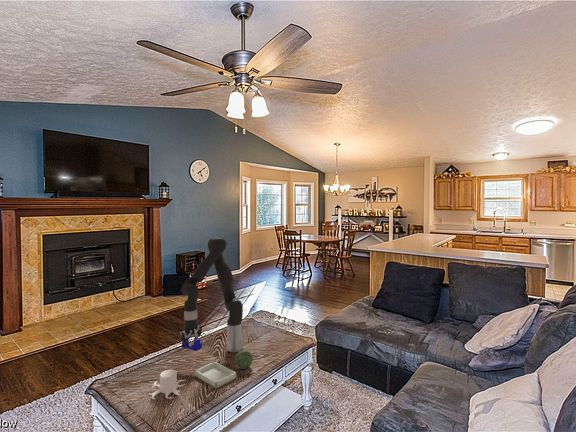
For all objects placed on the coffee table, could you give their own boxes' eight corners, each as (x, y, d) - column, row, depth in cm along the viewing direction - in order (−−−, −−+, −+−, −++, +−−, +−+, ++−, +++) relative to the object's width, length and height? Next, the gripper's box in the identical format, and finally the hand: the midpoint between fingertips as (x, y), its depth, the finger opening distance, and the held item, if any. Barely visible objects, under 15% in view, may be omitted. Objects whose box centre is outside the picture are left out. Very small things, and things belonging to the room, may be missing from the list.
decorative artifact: (251, 365, 187) (251, 348, 186) (254, 370, 180) (254, 353, 180) (234, 368, 183) (234, 351, 183) (237, 374, 176) (237, 356, 176)
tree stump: (194, 380, 171) (194, 365, 171) (176, 401, 152) (176, 385, 152) (160, 377, 174) (160, 362, 174) (138, 397, 155) (138, 381, 155)
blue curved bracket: (202, 347, 185) (201, 337, 184) (196, 351, 181) (196, 340, 180) (187, 344, 190) (187, 334, 190) (181, 347, 186) (181, 337, 186)
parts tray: (215, 366, 185) (215, 361, 185) (236, 378, 172) (236, 372, 172) (194, 375, 175) (194, 370, 175) (215, 388, 162) (215, 383, 162)
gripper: (197, 313, 193) (198, 340, 193) (176, 319, 182) (177, 348, 183) (205, 315, 188) (205, 343, 189) (183, 322, 177) (184, 352, 178)
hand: (191, 345), depth 186 cm, fingers closed on blue curved bracket, 5 cm apart
